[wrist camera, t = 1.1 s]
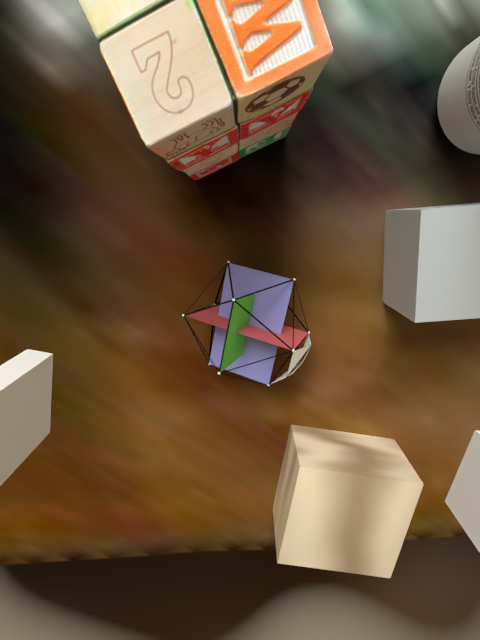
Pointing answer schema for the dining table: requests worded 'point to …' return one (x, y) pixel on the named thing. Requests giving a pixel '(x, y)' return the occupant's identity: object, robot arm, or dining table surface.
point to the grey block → (433, 262)
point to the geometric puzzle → (252, 324)
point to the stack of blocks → (211, 72)
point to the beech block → (343, 501)
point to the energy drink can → (462, 99)
